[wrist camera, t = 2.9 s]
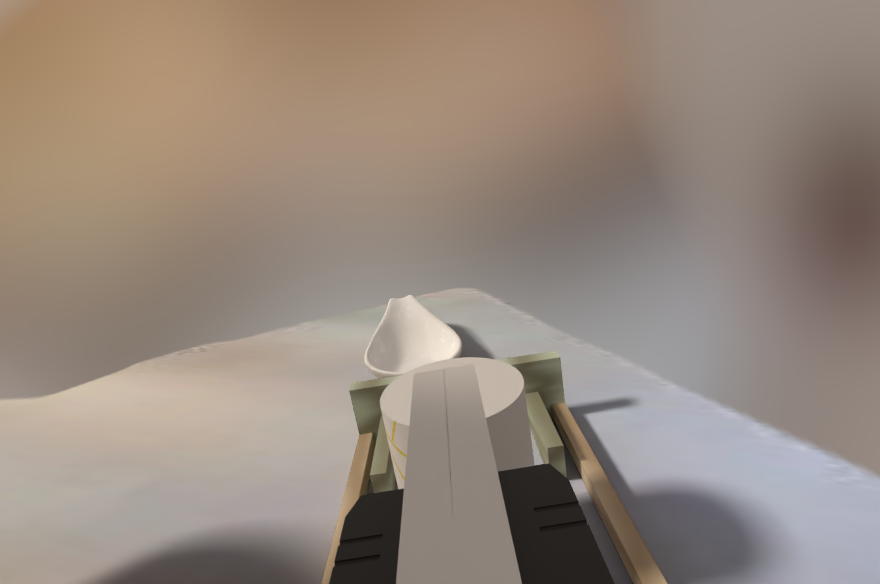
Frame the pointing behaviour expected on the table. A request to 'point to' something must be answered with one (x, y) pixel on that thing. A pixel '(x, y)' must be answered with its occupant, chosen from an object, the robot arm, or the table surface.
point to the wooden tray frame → (542, 407)
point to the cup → (499, 402)
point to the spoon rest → (409, 339)
